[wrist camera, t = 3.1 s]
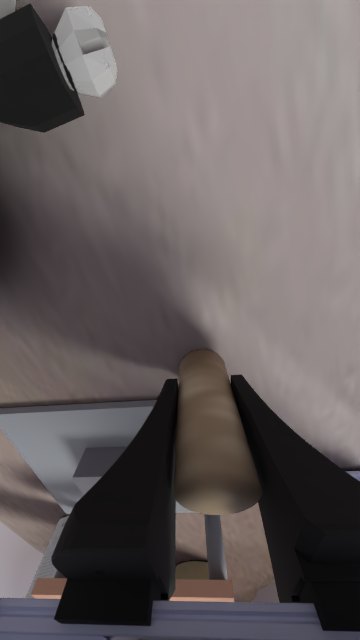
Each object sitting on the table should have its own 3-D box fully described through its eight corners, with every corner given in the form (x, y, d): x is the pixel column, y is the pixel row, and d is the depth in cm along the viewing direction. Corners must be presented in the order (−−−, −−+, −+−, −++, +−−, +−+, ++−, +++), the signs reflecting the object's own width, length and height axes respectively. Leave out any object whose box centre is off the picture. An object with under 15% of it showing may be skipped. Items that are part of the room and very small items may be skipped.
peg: (224, 347, 12) (265, 468, 6) (224, 384, 14) (258, 514, 7) (176, 351, 13) (168, 471, 6) (181, 387, 14) (178, 515, 8)
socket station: (243, 395, 14) (286, 514, 8) (237, 504, 21) (257, 611, 15) (-3, 408, 15) (-122, 519, 9) (69, 507, 23) (27, 606, 17)
